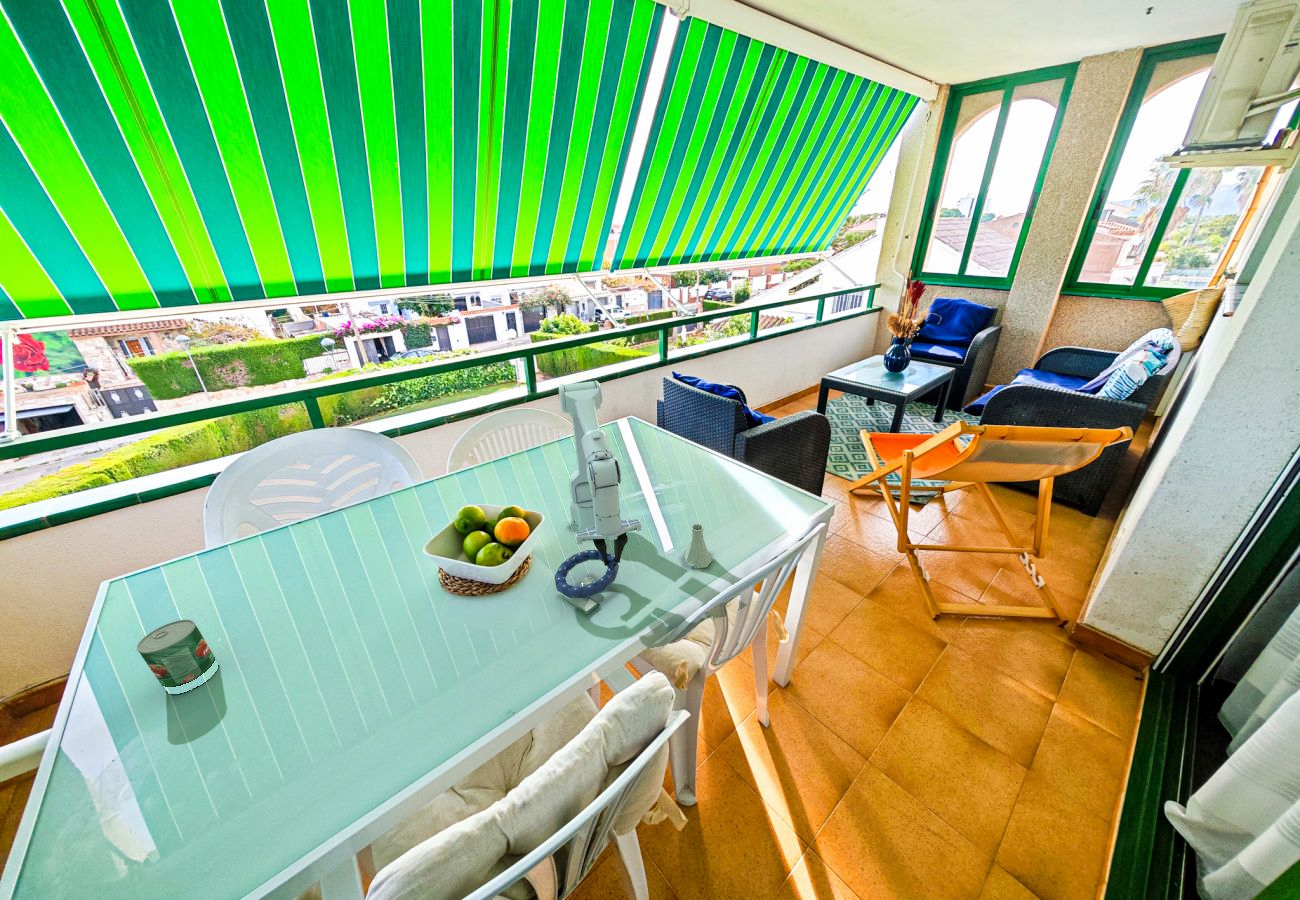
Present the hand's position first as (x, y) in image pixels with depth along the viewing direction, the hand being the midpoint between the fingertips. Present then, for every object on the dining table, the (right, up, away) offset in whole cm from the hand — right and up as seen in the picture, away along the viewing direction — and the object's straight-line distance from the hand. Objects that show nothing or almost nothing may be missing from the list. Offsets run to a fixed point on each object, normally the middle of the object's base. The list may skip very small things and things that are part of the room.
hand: (611, 561), depth 105 cm
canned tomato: (-80, -19, -15) cm, 84 cm away
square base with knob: (-5, -8, +2) cm, 10 cm away
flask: (+21, -3, +12) cm, 24 cm away
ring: (-5, -2, -1) cm, 6 cm away
